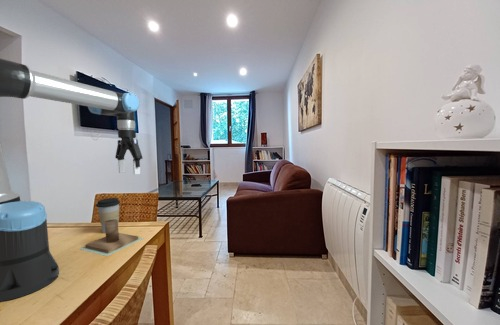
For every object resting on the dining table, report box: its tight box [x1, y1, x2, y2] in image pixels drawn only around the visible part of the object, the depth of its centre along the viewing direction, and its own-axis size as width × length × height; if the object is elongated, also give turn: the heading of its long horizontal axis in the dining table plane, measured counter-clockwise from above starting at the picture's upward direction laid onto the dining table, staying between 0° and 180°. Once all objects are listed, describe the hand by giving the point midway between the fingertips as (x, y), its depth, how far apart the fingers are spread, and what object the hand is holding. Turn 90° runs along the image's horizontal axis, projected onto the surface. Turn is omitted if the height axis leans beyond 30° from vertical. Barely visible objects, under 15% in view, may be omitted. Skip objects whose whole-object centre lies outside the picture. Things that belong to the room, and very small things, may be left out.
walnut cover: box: [84, 219, 139, 254], centre depth 90 cm, size 13×13×9 cm
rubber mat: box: [79, 236, 145, 257], centre depth 90 cm, size 16×16×1 cm
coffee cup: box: [95, 197, 121, 234], centre depth 103 cm, size 9×9×15 cm
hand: (129, 173), depth 110 cm, fingers open, 13 cm apart
